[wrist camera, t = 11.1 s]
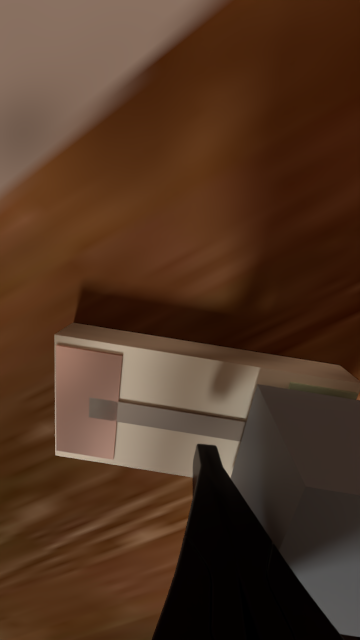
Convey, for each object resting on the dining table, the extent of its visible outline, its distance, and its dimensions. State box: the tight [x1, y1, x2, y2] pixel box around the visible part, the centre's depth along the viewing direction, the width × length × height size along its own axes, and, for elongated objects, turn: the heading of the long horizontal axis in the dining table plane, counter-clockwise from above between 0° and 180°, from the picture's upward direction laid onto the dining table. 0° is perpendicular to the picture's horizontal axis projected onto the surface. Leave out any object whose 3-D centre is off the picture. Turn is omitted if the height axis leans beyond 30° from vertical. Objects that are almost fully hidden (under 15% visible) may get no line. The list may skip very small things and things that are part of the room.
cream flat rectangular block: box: [55, 323, 360, 478], centre depth 11 cm, size 12×6×2 cm, turn 81°
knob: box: [231, 384, 360, 637], centre depth 8 cm, size 4×5×4 cm
